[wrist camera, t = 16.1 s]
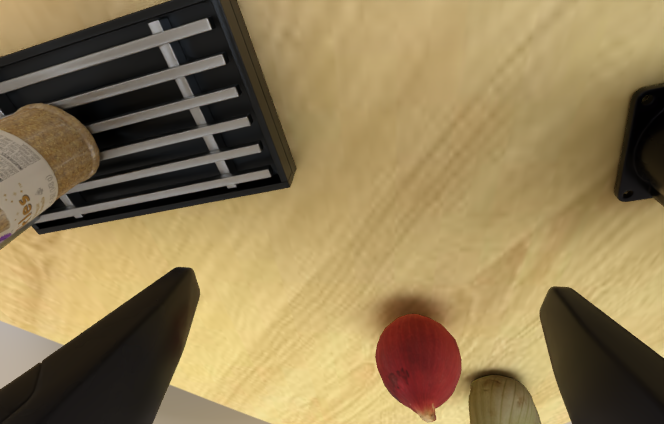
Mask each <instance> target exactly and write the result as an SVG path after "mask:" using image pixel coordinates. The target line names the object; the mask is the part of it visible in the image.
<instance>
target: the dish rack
mask: <svg viewBox="0 0 664 424" xmlns="http://www.w3.org/2000/svg"><path fill="white" fill-rule="evenodd" d="M35 103H44V104H49V105H52V106H55V107H57V108H60V109H62V110H63V111H65V112H67V113H69V114H70V115H72V116H74V117H75V118H76V119H78V120H79V121H80V122H81V123H82V124H83V125H84V126H85V127H86V128H87V129H88V131H89V132H90V133H91V135H92V136H93V138H94V140H95V142H96V144H97V146H98V148H99V156H100V162H99V167H98V169H97V171H96V173H95V174H94V175H92V177H90V178H89V179H88V180H86V181H83V182H80V183H78V184H77V185H76V186H74V187H73V188H72V189H70V190H69V191H68V192H67V193H65V194H64V195H62V196H61V197H59V198H58V199H57V200H55V202H54V203H53V204H52V205H51V206H50V207H49V208H47V209H46V210H45V211H43V212H42V213H41V214H39V215H38V216H37V217H35V218H34V219H33V220H31V221H30V222H29V223H27V224H26V225H24V226H23V227H22V228H20V229H19V230H17V231H16V232H15V233H14V234H12V235H11V236H10V237H8V238H7V239H5V240H4V241H3V242H1V243H0V250H1V249H2V248H3V247H5V246H6V245H7V244H9V243H10V242H11V241H12V240H14V239H15V238H16V237H17V236H19V235H20V234H21V233H23V232H24V231H25V230H26V229H28V228H29V227H30V226H32V227H33V228H34V229H35V230H36V232H37V233H38V234H45V233H50V232H55V231H61V230H66V229H71V228H77V227H82V226H87V225H93V224H98V223H103V222H108V221H114V220H119V219H124V218H130V217H135V216H140V215H146V214H151V213H156V212H162V211H167V210H172V209H177V208H183V207H188V206H193V205H199V204H204V203H209V202H215V201H220V200H225V199H231V198H236V197H241V196H246V195H252V194H257V193H262V192H268V191H273V190H278V189H284V188H289V187H290V186H291V183H292V181H293V178H294V174H295V171H296V166H295V164H294V161H293V158H292V155H291V152H290V149H289V147H288V144H287V141H286V138H285V135H284V133H283V130H282V127H281V124H280V121H279V119H278V116H277V113H276V110H275V107H274V104H273V102H272V99H271V96H270V93H269V90H268V88H267V85H266V82H265V79H264V76H263V73H262V71H261V68H260V65H259V62H258V59H257V57H256V54H255V51H254V48H253V45H252V43H251V40H250V37H249V34H248V31H247V28H246V26H245V23H244V20H243V17H242V14H241V12H240V9H239V6H238V3H237V0H170V1H167V2H164V3H161V4H158V5H155V6H152V7H149V8H146V9H143V10H140V11H137V12H134V13H131V14H128V15H125V16H122V17H119V18H116V19H113V20H110V21H107V22H104V23H101V24H99V25H96V26H93V27H90V28H87V29H84V30H81V31H78V32H75V33H72V34H69V35H66V36H63V37H60V38H57V39H54V40H51V41H48V42H45V43H42V44H39V45H36V46H33V47H30V48H27V49H24V50H21V51H18V52H15V53H12V54H9V55H6V56H3V57H0V119H3V118H5V117H8V116H10V115H13V114H15V112H16V111H17V110H18V109H19V108H21V107H24V106H26V105H29V104H35Z"/></svg>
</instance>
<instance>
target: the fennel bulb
mask: <svg viewBox="0 0 664 424" xmlns="http://www.w3.org/2000/svg"><path fill="white" fill-rule="evenodd" d="M469 412H470V413H469V414H470V424H541V422H540V418H539V415H538V412H537V409H536V407H535V405H534V402H533V400H532V397H531V395H530V393H529V391H528V390H527V389H526V388H525V386H524V385H522V384H521V383H520V382H519V381H517V380H514V379H512V378H509V377H505V376H501V375H489V376H484V377H481V378H478V379H476V380H474V381H472V383H471V390H470V395H469Z"/></svg>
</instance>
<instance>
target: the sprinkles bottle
mask: <svg viewBox="0 0 664 424" xmlns="http://www.w3.org/2000/svg"><path fill="white" fill-rule="evenodd" d="M99 162H100V156H99V148H98V146H97V144H96V142H95V140H94V138H93V136H92V135H91V133H90V132H89V131H88V129H87V128H86V127H85V126H84V125H83V124H82V123H81V122H80V121H79V120H78V119H76V118H75V117H74V116H72V115H70V114H69V113H67V112H65V111H63V110H62V109H60V108H57V107H55V106H52V105H49V104H44V103H35V104H29V105H26V106H24V107H21V108H19V109H18V110H17V111H16V112H15V114H13V115H10V116H8V117H5V118H3V119H0V243H1V242H3V241H4V240H5V239H7V238H8V237H10V236H11V235H12V234H14V233H15V232H16V231H17V230H19V229H20V228H22V227H23V226H24V225H26V224H27V223H29V222H30V221H31V220H33V219H34V218H35V217H37V216H38V215H39V214H41V213H42V212H43V211H45V210H46V209H47V208H49V207H50V206H51V205H52V204H53V203H54V202H55V200H57V199H58V198H59V197H61V196H62V195H64V194H65V193H67V192H68V191H69V190H70V189H72V188H73V187H74V186H76V185H77V184H78V183H80V182H83V181H86V180H88V179H89V178H90V177H92V175H94V174H95V173H96V171H97V169H98V167H99Z"/></svg>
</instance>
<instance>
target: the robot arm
mask: <svg viewBox="0 0 664 424" xmlns="http://www.w3.org/2000/svg"><path fill="white" fill-rule="evenodd" d="M647 95H649V97H648V99H647V100H646V101H644V102H642V99H643V98H644V97H645V96H647ZM626 191H629V192H628V193H626V194H624V193H625V192H626ZM614 194H615V196H616V197H617V198H618V199H619V200H620V201H622V202H628V201H635V200H641V199H648V198H655V199H656V200H657V201H658V202H659V203H660V204H661V205H663V206H664V83H663V84H658V85H654V86H649V87H644V88H641V89H639V90H638V91H636V92H635V94H634V95H633V96H632V99H631V103H630V109H629V114H628V120H627V125H626V131H625V136H624V142H623V147H622V153H621V158H620V164H619V169H618V175H617V180H616V186H615V191H614ZM199 297H200V289H199V286H198V283H197V279H196V276H195V273H194V271H193V269H192V268H186V267H176V268H174V269H173V270H171V271H170V272H168V273H167V274H165V275H164V276H163V277H161V278H160V279H158V280H157V281H155V282H154V283H153V284H151V285H150V286H148V287H147V288H145V289H144V290H143V291H141V292H140V293H138V294H137V295H135V296H134V297H133V298H131V299H130V300H128V301H127V302H125V303H124V304H123V305H121V306H120V307H118V308H117V309H115V310H114V311H113V312H111V313H110V314H108V315H107V316H105V317H104V318H103V319H101V320H100V321H98V322H97V323H95V324H94V325H93V326H91V327H90V328H88V329H87V330H85V331H84V332H83V333H81V334H80V335H78V336H77V337H75V338H74V339H73V340H71V341H70V342H68V343H67V344H65V345H64V346H63V347H61V348H60V349H58V350H57V351H55V352H54V353H53V354H51V355H50V356H48V357H47V358H46V359H44V360H43V361H42V363H38V364H37V365H35V366H34V367H32V368H31V369H29V370H28V371H27V372H25V373H24V374H22V375H21V376H19V377H18V378H16V379H15V380H13V381H12V382H11V383H9V384H8V385H6V386H5V387H3V388H2V389H0V424H152V423H153V421H154V419H155V416H156V414H157V412H158V409H159V407H160V405H161V402H162V400H163V398H164V395H165V393H166V391H167V388H168V386H169V384H170V381H171V379H172V377H173V374H174V372H175V369H176V367H177V365H178V362H179V360H180V358H181V355H182V352H183V350H184V347H185V344H186V341H187V337H188V334H189V331H190V327H191V324H192V321H193V317H194V314H195V311H196V307H197V304H198V301H199ZM540 320H541V324H542V328H543V332H544V336H545V340H546V344H547V348H548V352H549V356H550V360H551V364H552V368H553V372H554V375H555V378H556V381H557V384H558V387H559V390H560V393H561V395H562V398H563V401H564V403H565V406H566V409H567V411H568V414H569V417H570V419H571V422H572V424H664V358H663V357H661V356H660V355H659V354H657V353H656V352H655V351H654V350H652V349H651V348H650V347H648V346H647V345H646V344H644V343H643V342H642V341H640V340H639V339H638V338H636V337H635V336H634V335H632V334H631V333H630V332H629V331H627V330H626V329H625V328H623V327H622V326H621V325H619V324H618V323H617V322H615V321H614V320H613V319H611V318H610V317H609V316H607V315H606V314H605V313H604V312H602V311H601V310H600V309H598V308H597V307H596V306H594V305H593V304H592V303H590V302H589V301H588V300H586V299H585V298H584V297H582V296H581V295H580V294H579V293H577V292H576V291H575V290H573V289H572V288H569V287H555V286H554V287H551V288H550V289H549V291H548V293H547V295H546V297H545V299H544V301H543V304H542V306H541V308H540Z"/></svg>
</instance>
